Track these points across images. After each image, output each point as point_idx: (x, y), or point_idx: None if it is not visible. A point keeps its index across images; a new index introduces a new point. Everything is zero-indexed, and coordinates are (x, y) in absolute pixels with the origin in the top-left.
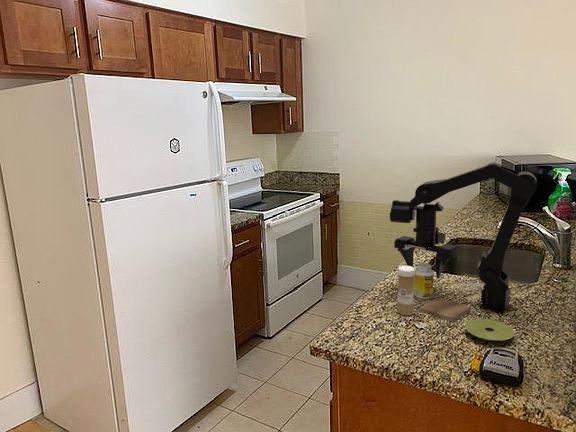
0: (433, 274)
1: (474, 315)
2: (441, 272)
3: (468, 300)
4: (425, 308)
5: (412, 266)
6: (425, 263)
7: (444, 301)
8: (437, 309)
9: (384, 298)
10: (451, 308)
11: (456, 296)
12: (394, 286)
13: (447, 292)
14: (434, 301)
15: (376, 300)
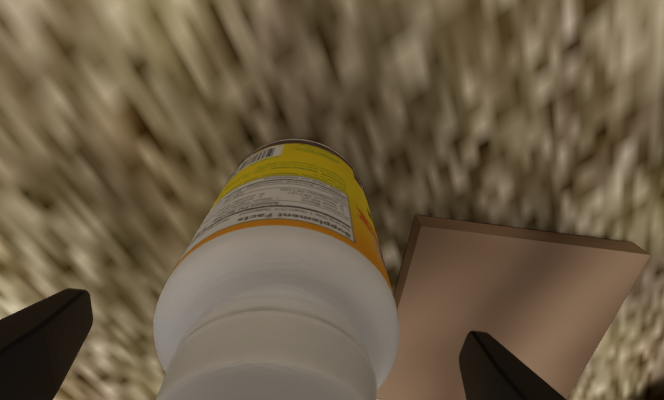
0: (395, 306)
1: (652, 288)
2: (536, 383)
3: (621, 86)
4: (401, 393)
5: (54, 339)
6: (241, 391)
7: (476, 262)
8: None
9: (124, 352)
10: (534, 327)
11: (524, 57)
12: (11, 145)
13: (437, 9)
14: (417, 295)
15: (111, 391)
